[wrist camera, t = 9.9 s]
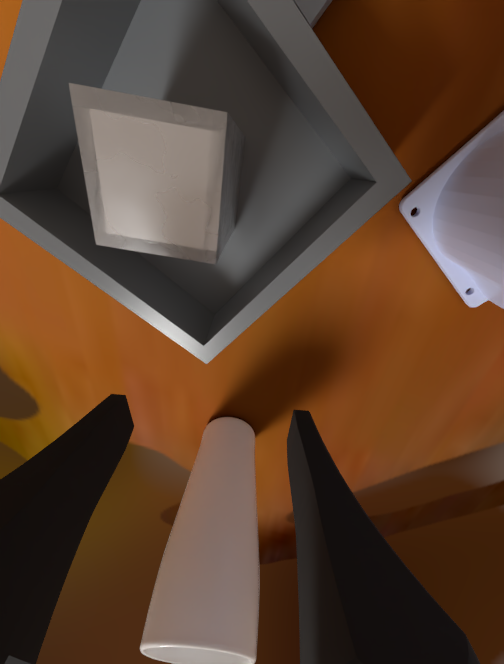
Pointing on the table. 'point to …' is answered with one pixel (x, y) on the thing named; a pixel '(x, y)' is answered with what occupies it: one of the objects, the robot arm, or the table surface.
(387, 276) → the table surface
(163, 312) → the bin
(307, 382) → the table surface
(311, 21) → the base
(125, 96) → the light grey block
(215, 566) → the drinking glass
